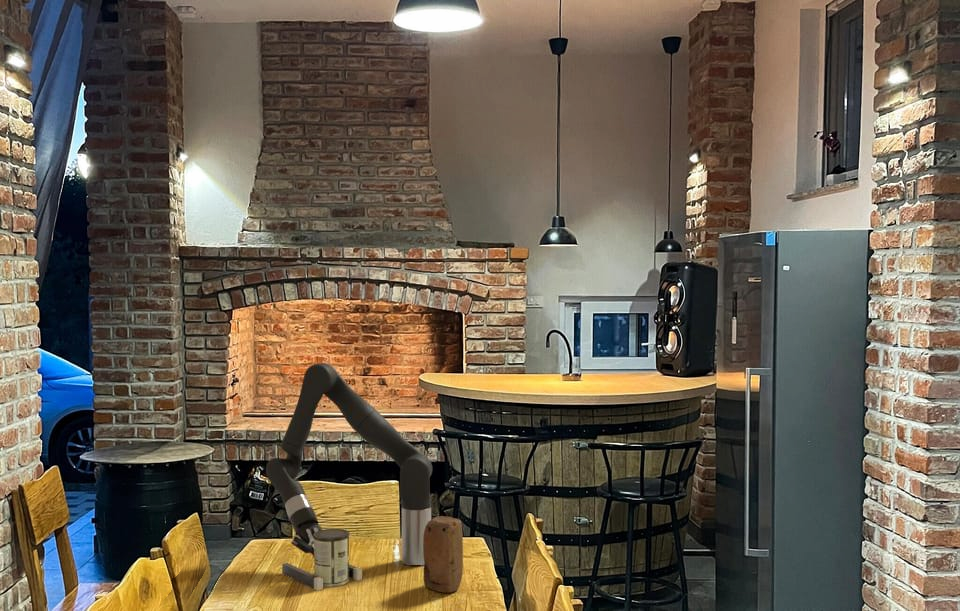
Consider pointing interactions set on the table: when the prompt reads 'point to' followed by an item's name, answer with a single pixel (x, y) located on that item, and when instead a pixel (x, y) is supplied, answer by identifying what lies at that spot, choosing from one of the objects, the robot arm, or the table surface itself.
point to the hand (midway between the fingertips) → (321, 562)
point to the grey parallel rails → (314, 580)
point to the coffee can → (332, 556)
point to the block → (443, 554)
